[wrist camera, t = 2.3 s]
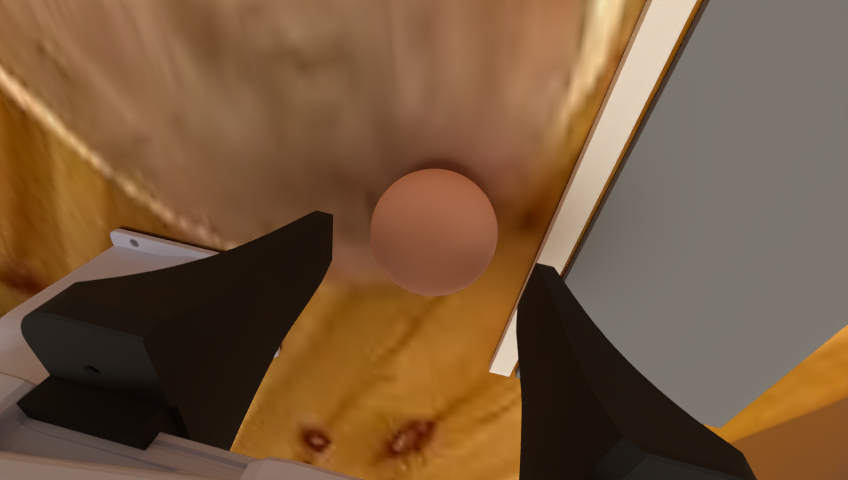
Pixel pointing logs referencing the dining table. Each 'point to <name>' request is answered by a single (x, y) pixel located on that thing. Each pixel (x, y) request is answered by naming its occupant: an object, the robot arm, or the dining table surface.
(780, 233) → the mat
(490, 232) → the ball
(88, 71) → the dining table surface
